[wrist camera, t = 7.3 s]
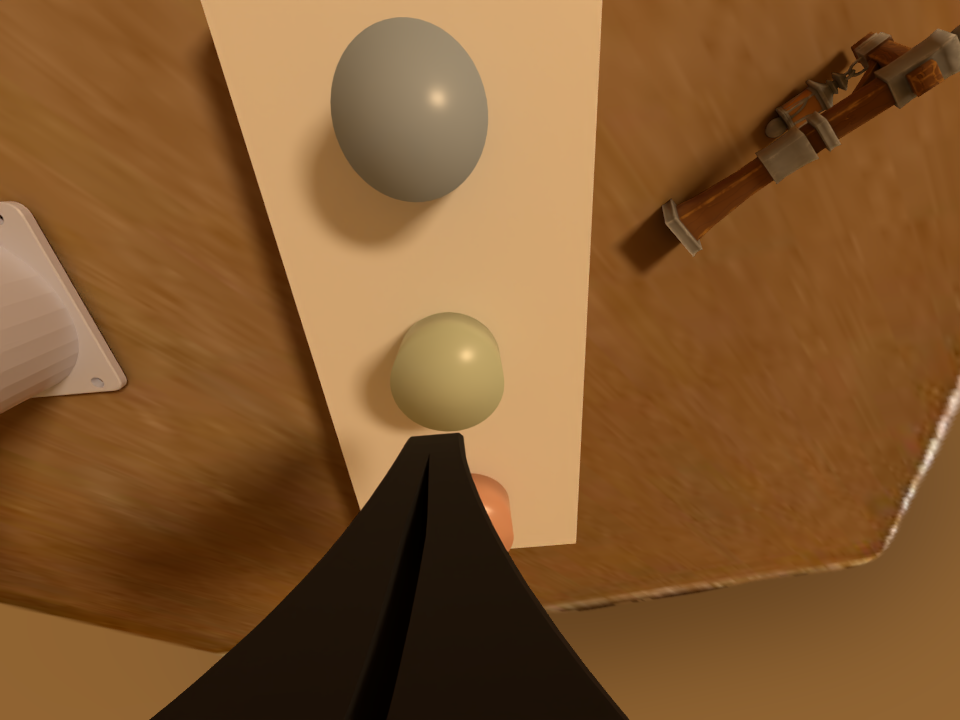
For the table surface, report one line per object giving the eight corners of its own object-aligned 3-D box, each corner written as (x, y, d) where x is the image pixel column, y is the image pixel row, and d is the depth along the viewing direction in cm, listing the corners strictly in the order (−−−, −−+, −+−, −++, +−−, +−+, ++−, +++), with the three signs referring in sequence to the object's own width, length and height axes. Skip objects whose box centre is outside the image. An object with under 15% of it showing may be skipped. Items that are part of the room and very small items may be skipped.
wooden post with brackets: (921, 37, 12) (1023, 58, 9) (680, 209, 18) (694, 259, 14) (898, -14, 12) (999, -9, 9) (656, 180, 17) (665, 226, 14)
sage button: (408, 406, 16) (400, 435, 14) (390, 317, 14) (379, 338, 13) (502, 397, 16) (507, 426, 14) (497, 307, 14) (501, 328, 13)
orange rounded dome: (433, 535, 20) (430, 571, 18) (422, 477, 18) (417, 511, 16) (511, 528, 20) (515, 564, 18) (507, 470, 18) (511, 503, 16)
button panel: (383, 528, 23) (375, 559, 21) (232, -2, 12) (191, -31, 10) (567, 513, 23) (575, 543, 21) (584, -35, 12) (605, -71, 10)
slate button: (367, 202, 13) (351, 208, 11) (337, 48, 11) (311, 25, 9) (489, 191, 12) (493, 195, 11) (479, 35, 11) (481, 9, 9)
